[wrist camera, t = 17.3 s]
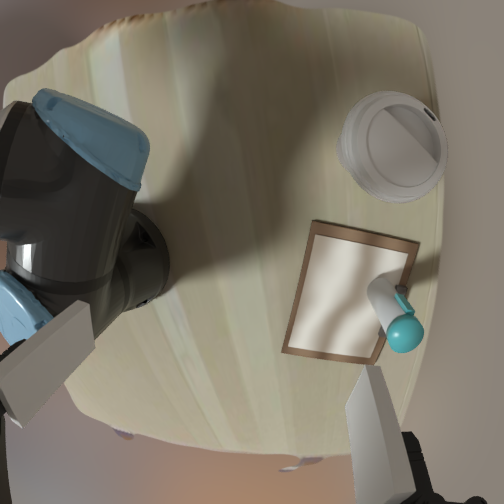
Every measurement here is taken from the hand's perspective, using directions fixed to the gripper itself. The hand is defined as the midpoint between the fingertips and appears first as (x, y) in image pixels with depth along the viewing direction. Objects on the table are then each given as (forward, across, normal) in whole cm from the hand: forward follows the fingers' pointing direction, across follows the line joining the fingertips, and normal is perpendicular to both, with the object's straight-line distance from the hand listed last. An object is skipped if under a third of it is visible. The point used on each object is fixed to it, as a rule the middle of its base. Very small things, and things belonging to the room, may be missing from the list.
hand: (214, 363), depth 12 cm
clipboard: (+27, +13, -8) cm, 31 cm away
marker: (+26, +16, -5) cm, 31 cm away
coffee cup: (+27, +10, +12) cm, 31 cm away
